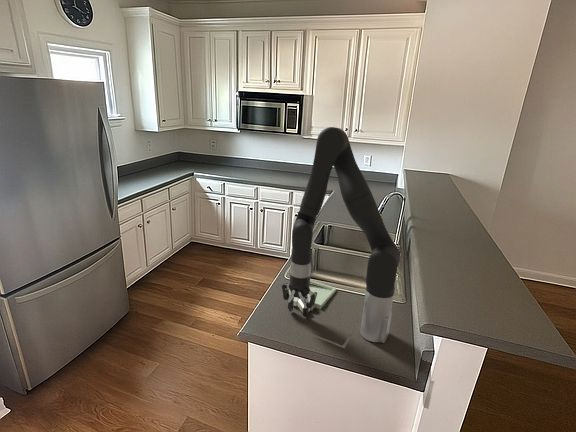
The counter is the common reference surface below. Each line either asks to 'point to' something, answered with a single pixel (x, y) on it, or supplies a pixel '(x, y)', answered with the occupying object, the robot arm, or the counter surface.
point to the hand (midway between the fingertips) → (297, 312)
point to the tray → (320, 294)
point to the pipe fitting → (301, 304)
